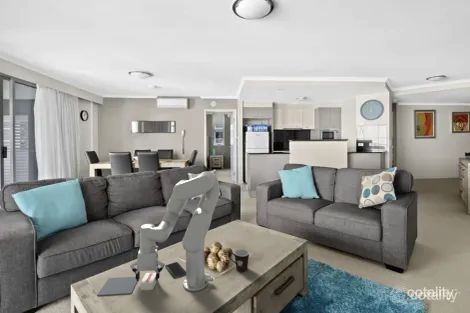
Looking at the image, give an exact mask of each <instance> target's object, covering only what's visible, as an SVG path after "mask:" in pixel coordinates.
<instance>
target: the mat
mask: <svg viewBox="0 0 470 313" xmlns="http://www.w3.org/2000/svg"><path fill="white" fill-rule="evenodd" d="M137 283H138V282H137V279H136V276H122V277H121V276H120V277H109V278H107V280H106V281H105V283H104V284H103V285H102V287H101V288H100V290H99V292H98V293H97V297H99V296H100V297H102V296H116V295H117V296H119V295H132V293H133V292H134V289H135V287H136V285H137Z"/></svg>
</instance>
